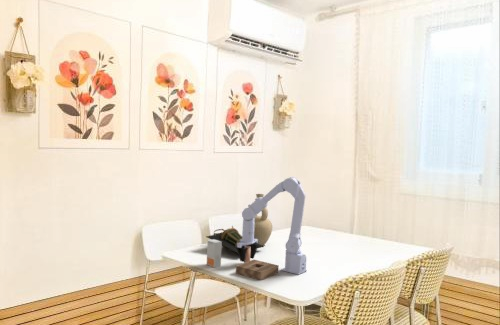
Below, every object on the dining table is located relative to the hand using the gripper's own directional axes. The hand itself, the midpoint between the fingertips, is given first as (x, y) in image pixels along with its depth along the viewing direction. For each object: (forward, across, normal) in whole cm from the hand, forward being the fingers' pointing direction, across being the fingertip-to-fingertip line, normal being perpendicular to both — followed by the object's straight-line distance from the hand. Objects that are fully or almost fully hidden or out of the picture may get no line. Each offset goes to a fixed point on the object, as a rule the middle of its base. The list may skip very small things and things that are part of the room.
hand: (247, 259), depth 193 cm
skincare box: (+3, +12, -11) cm, 17 cm away
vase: (+3, -38, -20) cm, 43 cm away
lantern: (+3, -16, -23) cm, 28 cm away
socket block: (+2, +7, +11) cm, 13 cm away
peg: (+3, 0, 0) cm, 3 cm away
